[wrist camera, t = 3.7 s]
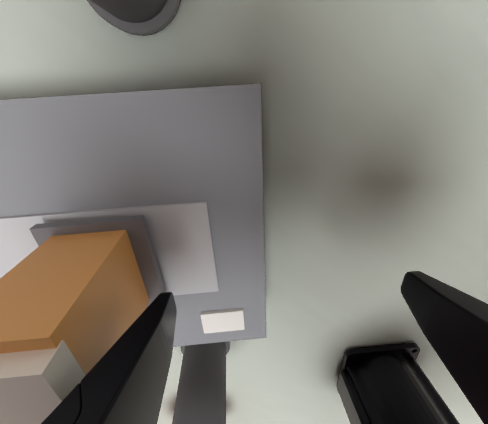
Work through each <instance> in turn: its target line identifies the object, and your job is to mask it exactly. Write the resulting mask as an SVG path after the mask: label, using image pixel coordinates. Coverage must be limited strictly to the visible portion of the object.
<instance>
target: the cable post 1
mask: <svg viewBox="0 0 488 424" xmlns="http://www.w3.org/2000/svg"><path fill="white" fill-rule="evenodd" d="M87 1H88V2H89V4H90V5H91V6H92V7H93V9H94V10H95V11H96V12H97V13H98V14H99V15H100V16H101V17H102V18H103V19H105V20H106V21H107V22H109V23H110V24H112V25H113V26H115V27H117V28H119V29H120V30H122V31H125V32H127V33H130V34H133V35H143V36H145V35H151V34H154V33H157V32H159V31H161V30H162V29H164V28H165V27H166V26H167V25H168V24H169V23H170V22H171V21H172V19H173V18H174V16H175V14H176V13H177V10H178V8H179V5H180V1H181V0H87Z"/></svg>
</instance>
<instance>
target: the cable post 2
mask: <svg viewBox="0 0 488 424" xmlns="http://www.w3.org/2000/svg"><path fill="white" fill-rule="evenodd" d="M229 348H230V341H227V342H217V343H207V344H197V345H186V346H181V351H182V353H183V360H182V367H181V373H180V379H179V385H178V391H177V398H176V404H175V410H174V416H173V422H172V424H226V354H227V353H228V351H229Z"/></svg>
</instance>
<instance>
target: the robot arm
mask: <svg viewBox="0 0 488 424" xmlns="http://www.w3.org/2000/svg"><path fill="white" fill-rule="evenodd" d="M401 293H402V295H403V297H404V299H405V301H406V303H407V304H408V306H409V308H410V310H411V312H412V314H413V315H414V317H415V319H416V321H417V323H418V325H419V326H420V328H421V330H422V332H423V333H424V335H425V336H426V338H427V339H428V341H429V342H430V344H431V345H432V347H433V348H434V350H435V351H436V353H437V354H438V356H439V357H440V359H441V360H442V362H443V363H444V365H445V366H446V368H447V369H448V371H449V372H450V374H451V375H452V377H453V378H454V380H455V381H456V383H457V384H458V386H459V387H460V389H461V390H462V392H463V393H464V395H465V396H466V398H467V399H468V401H469V402H470V404H471V405H472V407H473V408H474V410H475V411H476V412H477V414H478V415H479V417H480V418H481V420H482V421H483V423H484V424H488V304H487V303H485V302H483V301H480V300H478V299H476V298H474V297H472V296H470V295H468V294H466V293H464V292H462V291H460V290H457V289H455V288H453V287H451V286H449V285H447V284H445V283H443V282H441V281H439V280H437V279H434V278H432V277H430V276H428V275H426V274H424V273H422V272H420V271H411V272H407V273H406V274H405V276H404V279H403V282H402V285H401ZM176 315H177V308H176V304H175V300H174V296H173V293H172V292H162V293H160V294H159V295H158V296H157V297H156V298H155V299H154V300H153V302H152V303H151V304H150V305H149V306H148V307H147V308H146V309H145V310H144V311H143V313H142V314H141V315H140V316H139V317H138V318H137V319H136V320H135V321H134V323H133V324H132V325H131V326H130V327H129V328H128V329H127V330H126V331H125V332H124V334H123V335H122V336H121V337H120V338H119V339H118V340H117V341H116V342H115V344H114V345H113V346H112V347H111V348H110V349H109V350H108V351H107V352H106V353H105V355H104V356H103V357H102V358H101V359H100V360H99V361H98V362H97V363H96V365H95V366H94V367H93V368H92V369H91V370H90V371H89V372H88V373H87V374H86V376H85V377H84V378H83V379H82V380H81V382H80V383H81V384H80V383H79V384H77V385H76V387H75V388H74V389H73V390H72V391H71V392H70V393H69V394H68V395H67V396H66V398H65V399H64V400H63V401H62V402H61V403H60V404H59V405H58V406H57V407H56V408H55V409H54V410H53V411H52V412H51V414H50V415H49V416H48V417H47V418H46V419H45V420H44V421H43V422H42V423H41V424H157V421H158V416H159V412H160V407H161V403H162V398H163V394H164V389H165V385H166V380H167V376H168V371H169V367H170V362H171V357H172V350H173V341H174V332H175V324H176ZM419 351H420V348H419V347H418V346H417V344H415V343H409V344H399V345H389V346H380V347H370V348H360V349H351V350H348V351H346V352H345V354H344V359H343V363H342V368H341V371H340V374H339V379H338V383H337V390H338V393H339V394H340V397H341V399H342V402H343V405H344V407H345V410H346V413H347V415H348V418H349V421H350V423H351V424H459V422H458V421H457V419H456V418H455V416H454V415H453V414H452V412H451V411H450V409H449V408H448V406H447V405H446V404H445V402H444V401H443V399H442V398H441V396H440V395H439V394H438V392H437V391H436V389H435V388H434V386H433V385H432V384H431V382H430V381H429V379H428V378H427V376H426V375H425V374H424V372H423V371H422V369H421V368H420V366H419V365H418V364H417V362H416V361H415V360H416V358H417V356H418V354H419Z"/></svg>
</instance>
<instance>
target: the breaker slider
mask: <svg viewBox="0 0 488 424" xmlns="http://www.w3.org/2000/svg"><path fill="white" fill-rule="evenodd" d="M29 230H30V231H31V233H32V235H33V237H34V239H35V241H36V242H37V244H38V246H39V247H38V248H36V249H35V250H34V251H33V252H32V253H30V254H29V255H28V256H27V257H26V258H24V259H23V260H22V261H21V262H20V263H18V264H17V265H16V266H15V267H14V268H12V269H11V270H10V271H9V272H8V273H6V274H5V275H4V276H3V277H2V278H0V424H41V423H42V422H43V421H44V420H45V419H46V418H47V417H48V416H49V415H50V414H51V412H52V411H53V410H54V409H55V408H56V407H57V406H58V405H59V404H60V403H61V402H62V401H63V400H64V399H65V398H66V396H67V395H68V394H69V393H70V392H71V391H72V390H73V389H74V388H75V387H76V385H77V384H79V383H80V382H81V380H82V379H83V378H84V377H85V376H86V374H87V373H88V372H89V371H90V370H91V369H92V368H93V367H94V366H95V365H96V363H97V362H98V361H99V360H100V359H101V358H102V357H103V356H104V355H105V353H106V352H107V351H108V350H109V349H110V348H111V347H112V346H113V345H114V344H115V342H116V341H117V340H118V339H119V338H120V337H121V336H122V335H123V334H124V332H125V331H126V330H127V329H128V328H129V327H130V326H131V325H132V324H133V323H134V321H135V320H136V319H137V318H138V317H139V316H140V315H141V314H142V313H143V311H144V310H145V309H146V308H147V306H149V305H150V304H151V303H152V302H153V300H154V299H155V298H156V297H157V296H158V295H159V294H160V293H162V292H165V288H164V285H163V281H162V278H161V274H160V270H159V267H158V263H157V260H156V256H155V253H154V249H153V246H152V242H151V238H150V235H149V231H148V228H147V224H146V221H145V217H144V215H141V216H129V217H116V218H104V219H91V220H79V221H67V222H54V223H42V224H35V225H34V226H33V227H31V228H30V229H29ZM80 384H81V383H80Z"/></svg>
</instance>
